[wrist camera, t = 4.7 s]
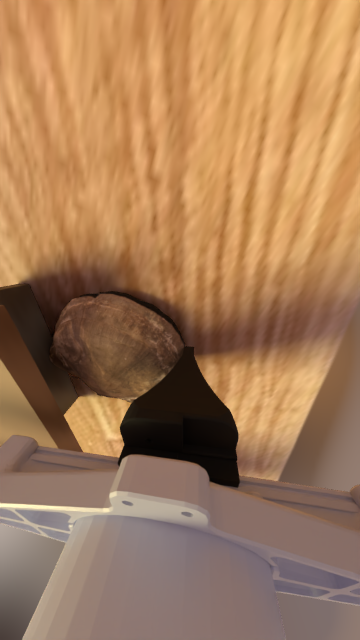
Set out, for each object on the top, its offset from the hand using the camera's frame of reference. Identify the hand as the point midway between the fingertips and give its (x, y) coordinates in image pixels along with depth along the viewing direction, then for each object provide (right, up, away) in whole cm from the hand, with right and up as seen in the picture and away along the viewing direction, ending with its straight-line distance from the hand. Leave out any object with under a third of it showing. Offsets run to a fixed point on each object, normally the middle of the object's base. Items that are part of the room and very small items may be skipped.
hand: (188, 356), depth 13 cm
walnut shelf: (-12, 0, +3) cm, 12 cm away
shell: (-6, 0, +2) cm, 6 cm away
